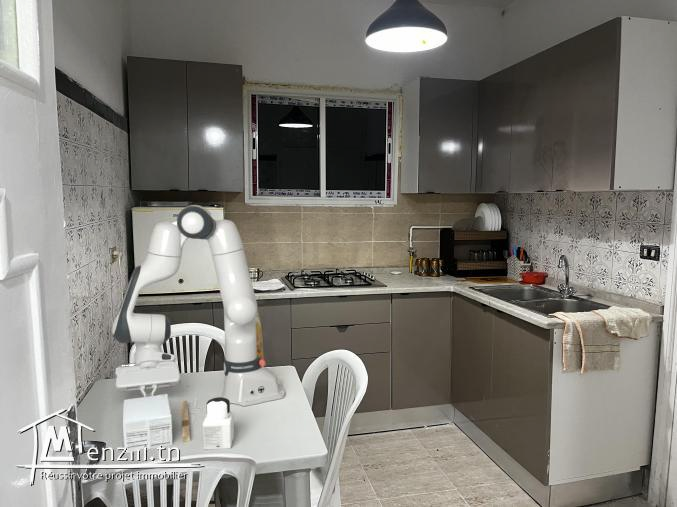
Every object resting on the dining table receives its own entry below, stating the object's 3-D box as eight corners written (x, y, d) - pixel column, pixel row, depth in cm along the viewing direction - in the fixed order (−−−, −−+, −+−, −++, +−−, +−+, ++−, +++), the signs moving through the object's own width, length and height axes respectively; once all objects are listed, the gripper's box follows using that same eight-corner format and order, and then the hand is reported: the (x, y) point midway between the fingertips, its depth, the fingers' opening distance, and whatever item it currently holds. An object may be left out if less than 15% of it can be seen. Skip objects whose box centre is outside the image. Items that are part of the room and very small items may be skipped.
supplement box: (124, 428, 155) (123, 399, 154) (169, 421, 160) (168, 393, 159) (123, 454, 139) (122, 421, 138) (173, 445, 144) (172, 414, 143)
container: (207, 437, 149) (206, 395, 148) (234, 436, 150) (233, 394, 148) (203, 450, 141) (201, 406, 140) (230, 449, 142) (229, 405, 141)
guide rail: (187, 406, 171) (187, 400, 171) (190, 440, 147) (189, 433, 147) (180, 407, 171) (180, 401, 170) (182, 441, 146) (182, 435, 146)
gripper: (114, 360, 167) (113, 399, 159) (179, 354, 173) (180, 392, 165) (116, 369, 171) (115, 407, 163) (179, 363, 178) (180, 400, 170)
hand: (148, 399), depth 164 cm, fingers closed
